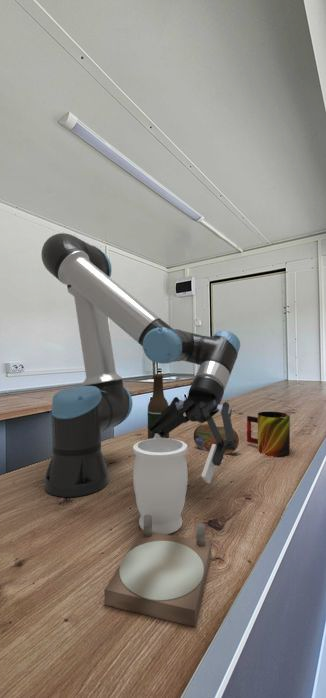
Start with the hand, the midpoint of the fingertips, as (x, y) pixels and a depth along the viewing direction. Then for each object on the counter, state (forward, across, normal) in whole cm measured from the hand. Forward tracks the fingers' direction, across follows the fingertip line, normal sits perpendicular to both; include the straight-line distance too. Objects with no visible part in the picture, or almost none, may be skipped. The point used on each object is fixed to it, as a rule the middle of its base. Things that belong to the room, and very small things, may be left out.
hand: (174, 471), depth 62 cm
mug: (-29, -2, -44) cm, 52 cm away
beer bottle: (-21, +33, -35) cm, 53 cm away
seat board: (+16, -7, +3) cm, 18 cm away
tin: (-22, +12, -37) cm, 45 cm away
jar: (+9, +2, -5) cm, 10 cm away
